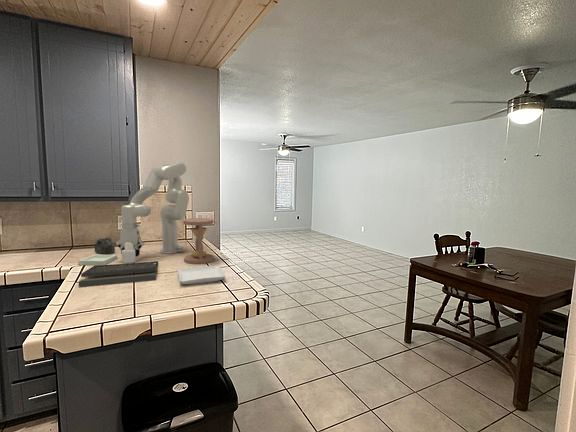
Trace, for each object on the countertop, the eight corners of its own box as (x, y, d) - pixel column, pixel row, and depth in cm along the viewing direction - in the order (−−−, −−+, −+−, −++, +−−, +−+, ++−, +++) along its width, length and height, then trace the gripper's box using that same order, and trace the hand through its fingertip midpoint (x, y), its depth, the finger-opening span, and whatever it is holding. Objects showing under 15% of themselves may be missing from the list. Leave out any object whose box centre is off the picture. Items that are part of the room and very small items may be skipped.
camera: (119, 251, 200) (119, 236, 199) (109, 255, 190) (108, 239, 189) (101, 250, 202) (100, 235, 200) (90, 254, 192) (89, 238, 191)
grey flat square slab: (176, 274, 156) (176, 268, 156) (218, 270, 164) (218, 264, 164) (179, 288, 137) (179, 281, 136) (226, 282, 145) (226, 276, 145)
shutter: (94, 278, 163) (79, 291, 134) (93, 265, 163) (77, 275, 134) (158, 270, 175) (156, 280, 146) (157, 258, 175) (155, 265, 146)
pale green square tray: (117, 259, 181) (117, 255, 181) (103, 265, 167) (103, 261, 167) (94, 258, 181) (94, 254, 181) (78, 265, 167) (78, 260, 167)
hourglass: (213, 263, 176) (213, 221, 173) (182, 264, 173) (181, 221, 170) (214, 256, 193) (214, 217, 191) (186, 257, 190) (185, 217, 187)
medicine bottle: (127, 259, 181) (126, 240, 179) (139, 259, 181) (138, 240, 180) (121, 262, 174) (120, 242, 172) (134, 262, 174) (133, 242, 173)
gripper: (147, 225, 179) (148, 254, 181) (118, 224, 179) (119, 253, 181) (141, 227, 171) (142, 257, 174) (110, 226, 171) (112, 257, 173)
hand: (130, 255), depth 177 cm, fingers closed on medicine bottle, 7 cm apart
